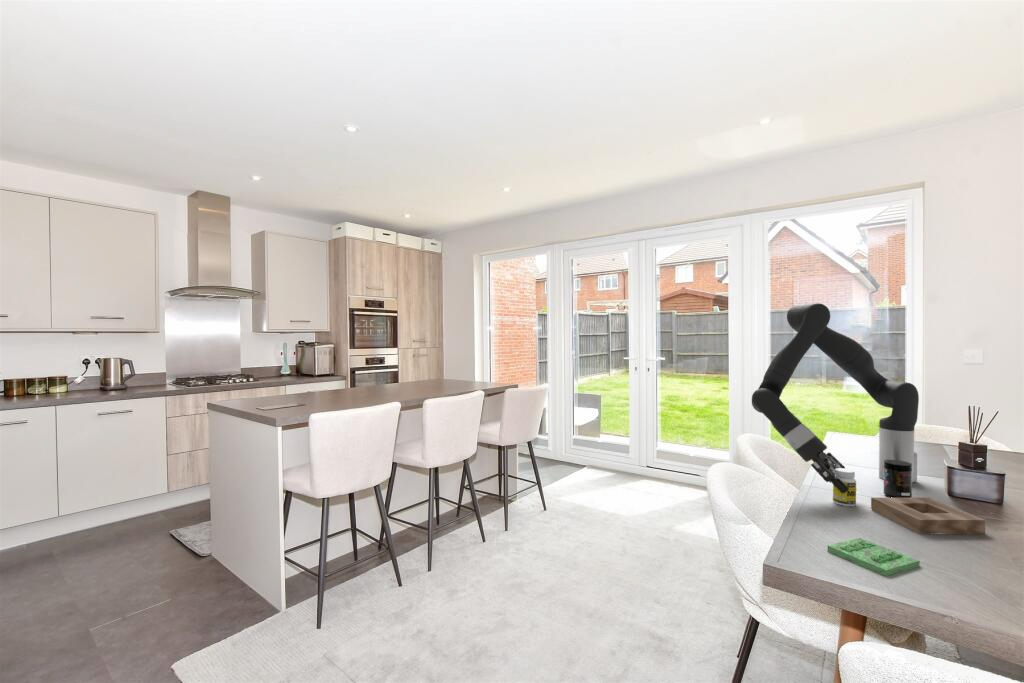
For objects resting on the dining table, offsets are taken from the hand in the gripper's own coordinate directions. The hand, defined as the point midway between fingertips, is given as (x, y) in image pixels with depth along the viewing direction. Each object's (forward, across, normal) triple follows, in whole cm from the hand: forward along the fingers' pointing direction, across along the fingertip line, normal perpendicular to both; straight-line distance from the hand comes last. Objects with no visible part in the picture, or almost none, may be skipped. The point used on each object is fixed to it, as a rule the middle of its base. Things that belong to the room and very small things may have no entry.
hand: (849, 488), depth 136 cm
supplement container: (+10, +18, -3) cm, 21 cm away
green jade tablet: (+12, -36, -4) cm, 38 cm away
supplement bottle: (+3, 0, +4) cm, 5 cm away
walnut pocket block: (+15, -1, -8) cm, 17 cm away
